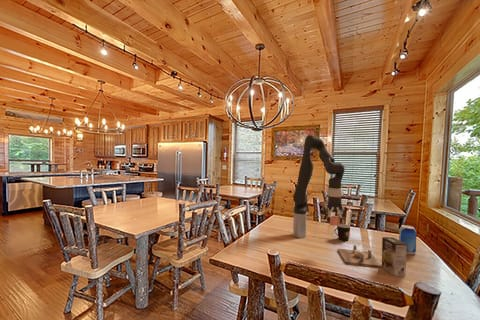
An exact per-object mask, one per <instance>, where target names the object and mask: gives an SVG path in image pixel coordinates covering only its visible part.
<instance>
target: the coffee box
mask: <svg viewBox="0 0 480 320" xmlns="http://www.w3.org/2000/svg"><path fill="white" fill-rule="evenodd" d="M381 245H382V246H381V247H382V248H381V265H382V268H383V269H385V270H386V271H387V272H389V273H390V274H391V275H393V276H397V277H399V276H406V274H407V254H406V252H407V244H406V243H404V242H402V241H400V240H399V238H395V237H393V236H392V237H390V236H382V240H381Z"/></svg>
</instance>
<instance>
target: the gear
mask: <svg viewBox="0 0 480 320" xmlns="http://www.w3.org/2000/svg"><path fill="white" fill-rule="evenodd" d="M328 224H329V226H334V227H337V226H340V217H339V215H337V216H336V215H330V223H328Z"/></svg>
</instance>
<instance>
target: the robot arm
mask: <svg viewBox="0 0 480 320" xmlns="http://www.w3.org/2000/svg"><path fill="white" fill-rule="evenodd" d="M312 149H313V150H316V151H318V158H319V159H320V160H321V161H320V162H322V164H323V165H324V169H325V171H326V173H327V174H329V175H334V176H333V177H331V178H329V179H328V188H327V189H328V190H327V204H325V205H322V206H321V207H322V210H323V215H324V217H325V216H326V221H327V223H328V224H329V223H330V216H332V215H331V214H332V213H337V216H338V217H340V224H343V218H345V217H346V216H347V211H348V207H347V206H343V205H342V197H343V196H342V195H343V194H342V180H343V176H344V174H345V166H344V164H343V163H342V162H335V161H336V160H335V158H334V157H333V155H332V154H331V153H330V151H328V148H327V147H326V145H325V143H324V140H323V139H322V138H321V137H319V136H317V135H316V136H315V135H311V134H308V135H307V136H306V138H305V140H304V145H303V153H302V157H301V162H300V166H299V171H298V177H297V181H296V183H297V184H296V187H295V190H294V193H293V196H292V199H293V203H294V207H293V223H292V235H293V237H295V238H297V239H298V238H300V239H302V238H303V239H304V238H306V237H307V210H308V195H307V189H308V186H309V183H310V181H311V178H312V176H313V171H314V164H313V161H312V156H311V151H312ZM327 209H328V211H327ZM341 210H342V213H341Z"/></svg>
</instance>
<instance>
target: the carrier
mask: <svg viewBox="0 0 480 320" xmlns="http://www.w3.org/2000/svg"><path fill="white" fill-rule="evenodd" d="M337 252H338V253H339V256H340V257H341V259H342V260H343V262H344V263H345V265H352V266H360V267H368V268H379V269H382V268H383V267H382V263H380V261H379V260H377V258H375V256H374V255H373V254H372V250H370V249H368V250H367V251H366V250H360V249H357V245H356V244H353V249H344V248H337Z"/></svg>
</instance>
